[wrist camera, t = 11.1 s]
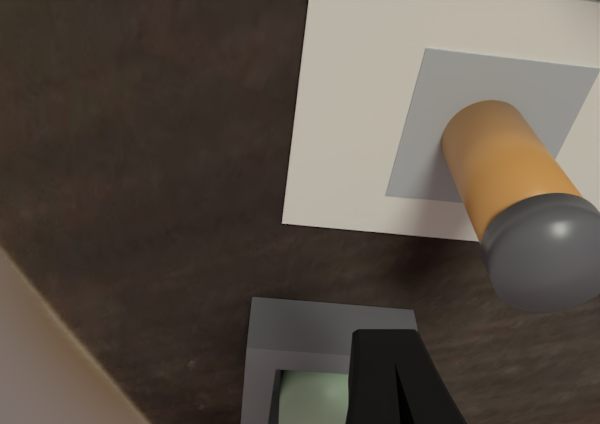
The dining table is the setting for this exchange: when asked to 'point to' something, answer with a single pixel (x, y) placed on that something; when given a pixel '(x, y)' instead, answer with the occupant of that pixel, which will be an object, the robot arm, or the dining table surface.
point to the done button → (313, 397)
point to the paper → (432, 104)
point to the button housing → (302, 345)
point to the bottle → (523, 210)
